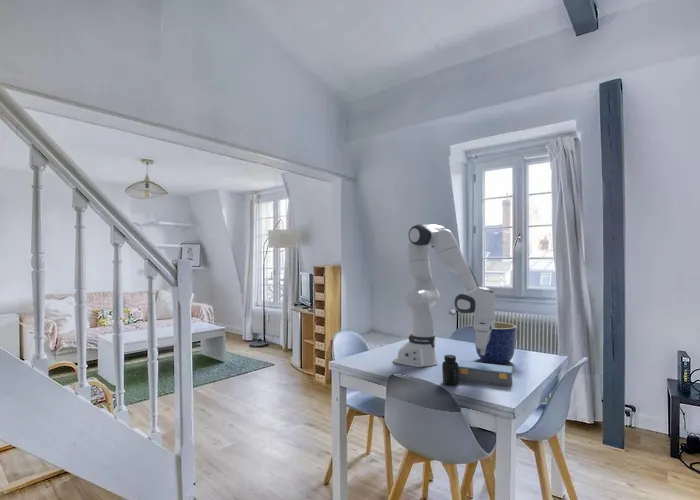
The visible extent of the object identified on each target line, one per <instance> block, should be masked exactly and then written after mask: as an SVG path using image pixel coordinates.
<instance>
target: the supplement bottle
mask: <svg viewBox="0 0 700 500" xmlns="http://www.w3.org/2000/svg"><path fill="white" fill-rule="evenodd" d="M458 364H459V363H458V362H457V358H456V355H454V354H445V355H444V361H443V362H442V364H441V365H442V366H441V367H442V372H441V373H442V376H441V377H442V384H443V385H445V386H449V387H451V386H452V387H455V386H458V385H459V383H460V380H459V372H458Z"/></svg>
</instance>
